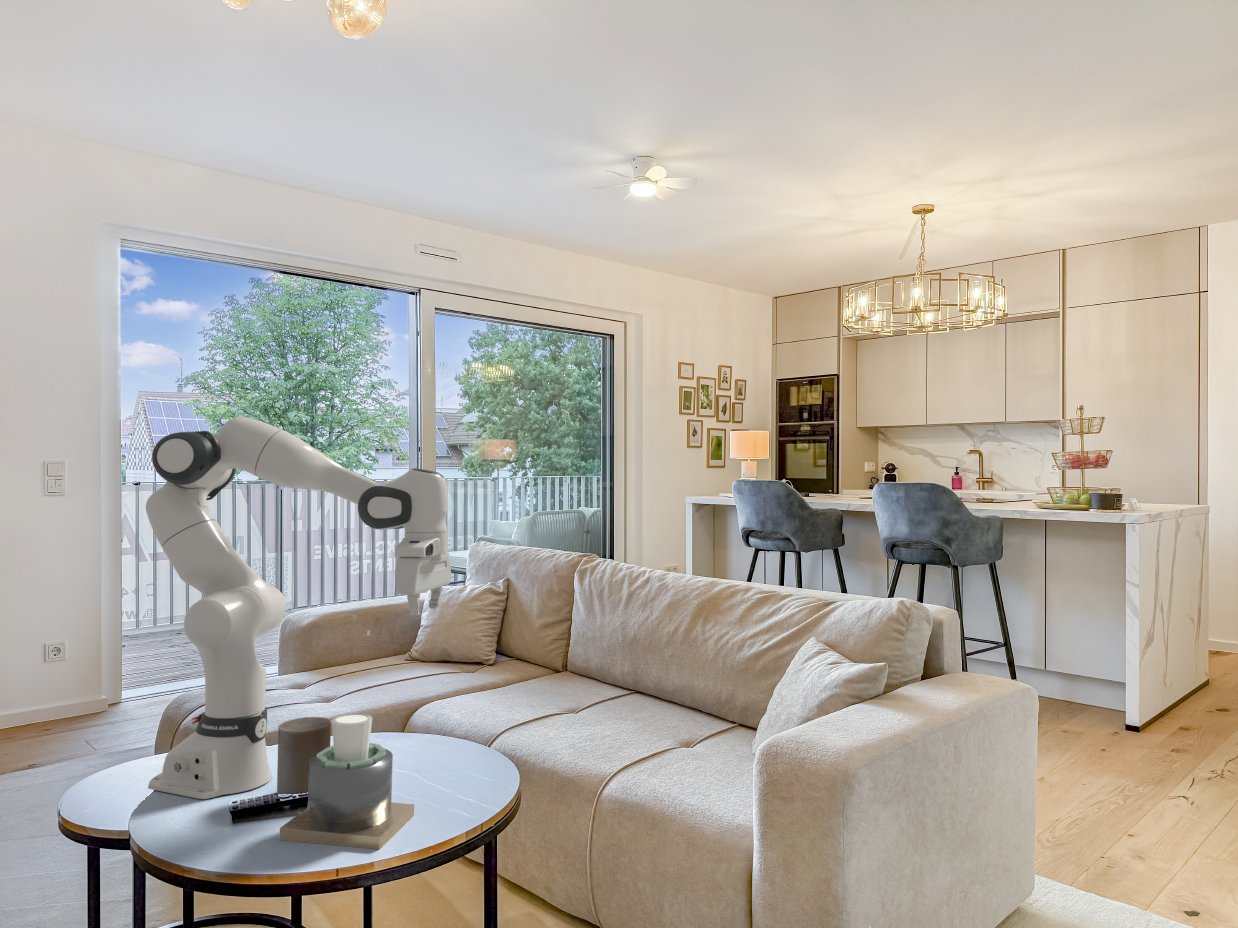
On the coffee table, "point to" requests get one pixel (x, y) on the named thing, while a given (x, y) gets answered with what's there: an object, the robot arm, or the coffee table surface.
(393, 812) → the green-rimmed dark canister
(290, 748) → the pillar candle
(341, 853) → the coffee table surface
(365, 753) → the white cylinder
